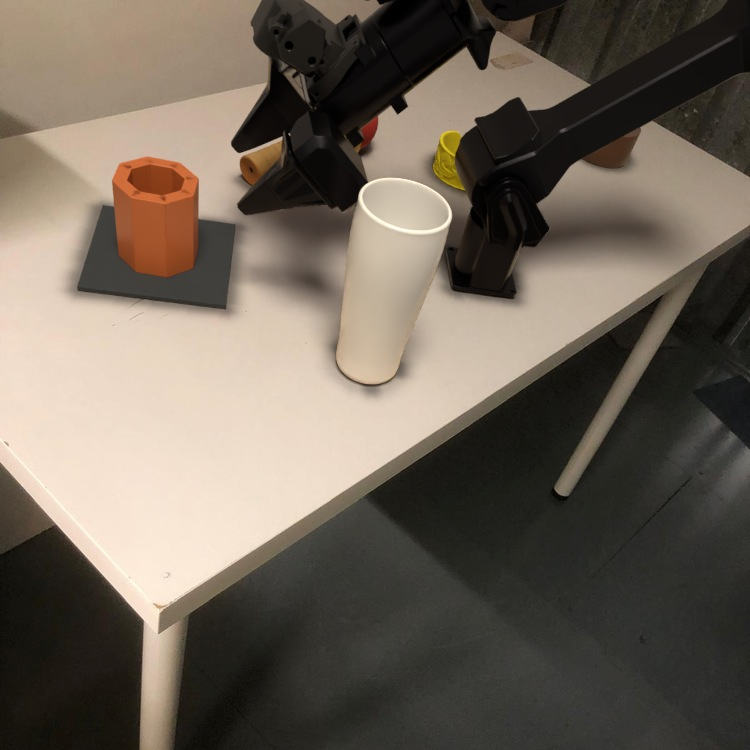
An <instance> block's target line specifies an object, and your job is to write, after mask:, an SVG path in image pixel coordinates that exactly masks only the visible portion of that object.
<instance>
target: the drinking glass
mask: <svg viewBox="0 0 750 750" xmlns="http://www.w3.org/2000/svg"><path fill="white" fill-rule="evenodd" d="M354 208H355V209H354V212H353V216H352V221H351V225H350V232H349V237H348V243H347V250H346V251H347V252H346V260H345V270H344V271H345V272H344V282H343V283H344V284H343V292H342V305H341V315H340V324H339V326H340V327H339V334H338V340H337V345H336V351H335V361H336V364H337V366H338V368H339V370H340V371H341V373H343V374H344V375H345V376H346V377H347V378H349V379H351V380H353V381H355V382H357V383H360V384H364V385H379V384H383V383H386V382H388V381H389V380H391V379H392V378H393V377H394V376H395V375H396V373H397V372H398V370H399V368H400V363H401V361H402V357H403V354H404V352H405V349H406V347H407V345H408V342H409V339H410V337H411V334H412V332H413V330H414V328H415V324H416V322H417V320H418V317H419V316H420V315H419V314H420V313H421V310H422V307H423V305H424V303H425V300H426V298H427V296H428V293H429V291H430V288H431V286H432V284H433V281H434V279H435V276H436V274H437V271H438V268H439V266H440V263H441V260H442V256H443V253H444V251H445V246H446V243H447V240H448V236H449V231H450V228H451V223H452V221H453V219H452V218H453V211H452V207H451V206H450V204H449V203H448V201H447V199H445V198H444V197H443V196H442V194H440V193H439V192H437V191H435V190H434V189H433V188H431V187H429V186H427V185H425V184H423V183H420V182H418V181H414V180H412V179H407V178H401V177H382V178H377V179H374V180H373V179H372V180H371V181H368V183H367V184H365V185H364V186H363V187H362V189H361V190H360V192H359V195H358V200H357V204H356V206H355V207H354Z"/></svg>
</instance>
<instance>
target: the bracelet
mask: <svg viewBox="0 0 750 750" xmlns="http://www.w3.org/2000/svg"><path fill="white" fill-rule="evenodd" d="M462 137H463V136H462V135H461V133H460V132H459V131H457V130H448V131H447V130H446V131H444V132H443V133H442V134H441V135H440V137H439V140H438V144H437V148H436V152H435V155H434V162H433V164H432V169H433V173H434V174H435V176H436V177H437V178H438V179H439V180H440V181H442V182H443V183H444V184H446V185H448V186H450V187H453V188H455V189H458V190H461V191H465V189H464V187H463V185H462V183H461V180H460V178H459V176H458V174H457V172H456V167H455V163H454V162H455V153H456V151H457V148H458V146H459V144H460V139H461V138H462Z"/></svg>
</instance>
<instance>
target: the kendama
mask: <svg viewBox="0 0 750 750" xmlns="http://www.w3.org/2000/svg"><path fill="white" fill-rule="evenodd" d="M378 127H379V116H377V117H376V118H375V119H373V120H372V121H371V122H370V123H368V124H367V125H366V126H364V127H363V128H362V129H361V130H362V133H363V136H364V141H363V142H362V143H360V144H359V145H358V146H356V147H355V148H354V147H353V146H352V147H353V148H354V149H355V150H356V152H357V153H358V154H359V152H360V150H362V149H363V148H365V147H367V146H368V145H370V143H371V142H372V141H373V139H374V138H375V137H376V134H377V131H378ZM344 136H345V135H344ZM345 138H346V137H345ZM346 139H347V138H346ZM347 140H348V139H347ZM349 143H350V142H349ZM350 144H351V143H350ZM351 145H352V144H351ZM281 147H282V139H281V140H278V141H277V142H274V143H272V144H270V145H268V146H265V147H262V148H260V149H258V150H255V151H252V152H250V153H247V154H243V155H242V156H241V157H240V159H239V169H240V172H241V174H242V175H241V176H243V178H244V180H245V181H246V182H247V183H248V184H249V185H251V186H253V185H254V184H255V183H256V182H257V181H258V180H259V179H260V178H261V177H262V176H263V175H264V174H265V173H266V172H267V171H268V170H269V169H270V168H271V167H272V165H273V164H274V163H275V162H276V161H277V160H278V159H279V158H280V156H281Z"/></svg>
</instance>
